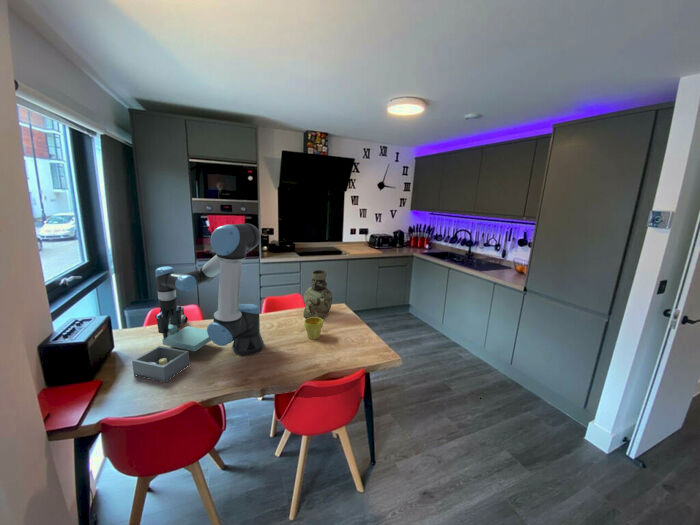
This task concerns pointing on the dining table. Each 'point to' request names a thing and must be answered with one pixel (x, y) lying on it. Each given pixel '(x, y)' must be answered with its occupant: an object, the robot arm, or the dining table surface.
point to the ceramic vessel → (317, 297)
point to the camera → (183, 317)
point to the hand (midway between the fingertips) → (171, 341)
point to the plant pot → (313, 327)
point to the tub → (160, 363)
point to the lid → (186, 338)
